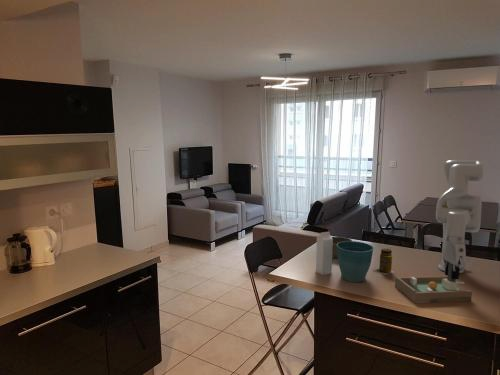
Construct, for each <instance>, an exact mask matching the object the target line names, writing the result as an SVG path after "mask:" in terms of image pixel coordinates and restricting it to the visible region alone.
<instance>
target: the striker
mask: <svg viewBox="0 0 500 375" xmlns="http://www.w3.org/2000/svg"><path fill="white" fill-rule="evenodd" d="M456 267H457V266H456ZM452 271H453V264H452V263H450V262H449V265H448V275H447V279H442V287H444V288H446V289H447V290H457V288H458V285H465V282H464V281H456V280H457V279H452Z"/></svg>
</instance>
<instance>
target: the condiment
mask: <svg viewBox="0 0 500 375" xmlns="http://www.w3.org/2000/svg"><path fill="white" fill-rule="evenodd" d="M380 251H381V252H380V255H379V267H378V268H377V269H374V270H373V271H374V272H376V273H378V274H380V275H384V276H386V275H389V274H392V273H395V271H394V270H392V262H393V255H392V254H393V253H392V250H391V249H389V248H382V249H380Z"/></svg>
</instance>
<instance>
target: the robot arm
mask: <svg viewBox="0 0 500 375" xmlns="http://www.w3.org/2000/svg"><path fill="white" fill-rule="evenodd" d="M443 170H444V175H445V178H446V181H447V184H448V185H447V190H446V191H444V193H443V192H442V194H441V195H440V196H439V198H438V199H437V202H436V206H435V220H436V222H438V223H440V224H442V247H441V260H440V261H441V263H439V264H437V269H438V270H440V271H443V272H444V276H448V265H449V262H450V263H452V264H453V271H452V279H456V280H459V279H460V274H462V273H465V268H466V267H468V268H469V267H470V263H469V262H466V259H467V258H466V254H467V252H466V251H467V250H466V249H467V248H466V244H465V237H466V236H465V235H466V233H478V232H479V231H480V228H481V221H482V207H483V205H482V203H483V202H482V201H483V200H482V197H481V196H480V195H479V194H477V193H476V194H475V193H468V192H469V182H480V181H482V180H483V177H484V165H483V162H482V161H480V160H470V159H469V160H468V159H467V160H466V159H452V160H451V159H450V160H447V161H445V162H444V164H443ZM445 203H446V205H447V207H444V204H445ZM456 266H457V267H456Z"/></svg>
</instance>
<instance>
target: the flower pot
mask: <svg viewBox="0 0 500 375" xmlns="http://www.w3.org/2000/svg"><path fill="white" fill-rule="evenodd" d="M374 249H375V248H374V246H373V245H371V244H369V243H366V242H362V241H357V240H355V241H354V240H352V241H343V242H339V243H338V244H337V256H338V258H337V263H338V267H339V271H340V276H341V278H342V279H343V280H345V281H347V282H354V283H355V282H356V283H358V282H364V281H365V280H366V277H367V275H368V271H369V270H370V267H371V265H372V258H373V253H374V252H373V251H374Z"/></svg>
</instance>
